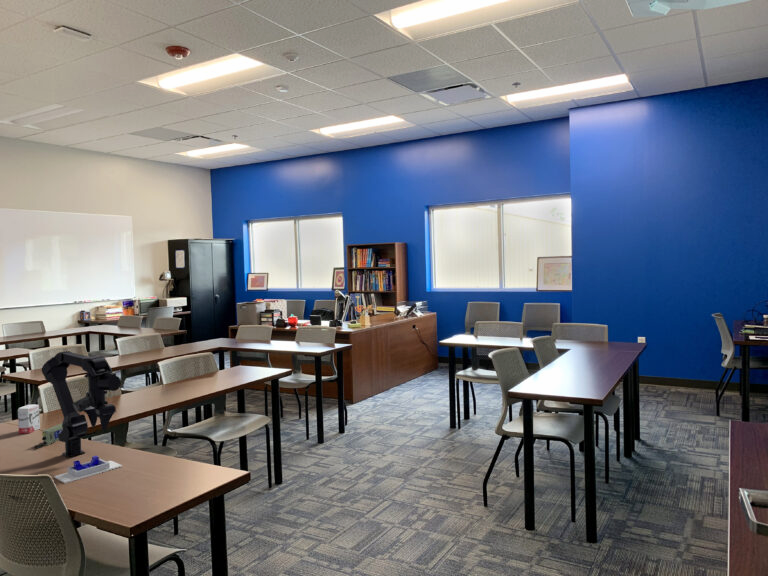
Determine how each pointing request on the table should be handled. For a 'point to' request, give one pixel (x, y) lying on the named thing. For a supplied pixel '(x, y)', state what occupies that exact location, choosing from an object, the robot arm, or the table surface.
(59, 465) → the table surface
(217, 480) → the table surface
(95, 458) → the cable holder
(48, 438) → the handheld radio
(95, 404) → the robot arm
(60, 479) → the desk organizer
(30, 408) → the ink box
